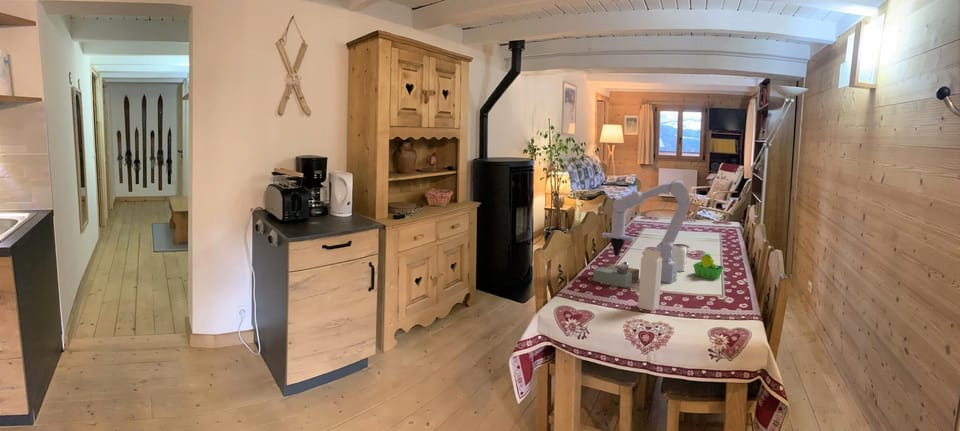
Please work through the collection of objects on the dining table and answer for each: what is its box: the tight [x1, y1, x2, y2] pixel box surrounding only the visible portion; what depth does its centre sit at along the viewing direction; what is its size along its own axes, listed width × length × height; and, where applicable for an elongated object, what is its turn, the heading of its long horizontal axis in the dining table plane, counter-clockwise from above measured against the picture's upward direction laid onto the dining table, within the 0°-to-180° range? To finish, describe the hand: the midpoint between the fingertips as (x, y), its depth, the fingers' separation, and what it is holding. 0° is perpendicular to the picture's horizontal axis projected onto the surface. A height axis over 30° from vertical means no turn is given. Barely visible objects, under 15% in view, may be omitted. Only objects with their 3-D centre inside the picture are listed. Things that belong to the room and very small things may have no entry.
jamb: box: [600, 263, 640, 285], centre depth 244 cm, size 15×6×5 cm, turn 51°
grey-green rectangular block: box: [592, 266, 633, 288], centre depth 239 cm, size 15×6×7 cm, turn 51°
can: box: [671, 243, 687, 273], centre depth 259 cm, size 6×6×12 cm
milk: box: [637, 249, 662, 312], centre depth 207 cm, size 6×6×22 cm
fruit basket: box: [692, 253, 725, 280], centre depth 249 cm, size 11×9×11 cm
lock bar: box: [613, 261, 630, 273], centre depth 239 cm, size 11×3×3 cm, turn 140°
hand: (617, 255), depth 249 cm, fingers closed
